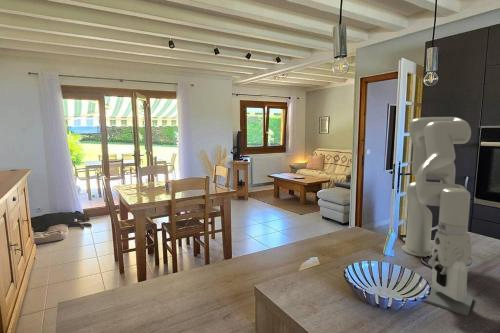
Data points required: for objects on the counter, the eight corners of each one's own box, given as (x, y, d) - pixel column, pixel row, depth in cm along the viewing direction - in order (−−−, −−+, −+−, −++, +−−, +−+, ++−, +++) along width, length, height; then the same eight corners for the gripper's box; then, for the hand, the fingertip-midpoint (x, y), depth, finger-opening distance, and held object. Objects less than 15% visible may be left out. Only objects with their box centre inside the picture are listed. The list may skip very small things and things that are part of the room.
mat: (430, 286, 104) (430, 284, 104) (473, 299, 96) (473, 297, 96) (421, 300, 95) (421, 298, 95) (467, 316, 87) (467, 313, 87)
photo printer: (429, 286, 100) (431, 250, 99) (439, 284, 101) (442, 249, 100) (456, 303, 90) (459, 263, 89) (468, 301, 91) (471, 261, 90)
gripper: (436, 233, 88) (432, 292, 90) (488, 230, 90) (482, 288, 92) (419, 225, 96) (415, 280, 98) (467, 223, 98) (462, 276, 100)
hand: (448, 283), depth 95 cm, fingers closed on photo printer, 4 cm apart
